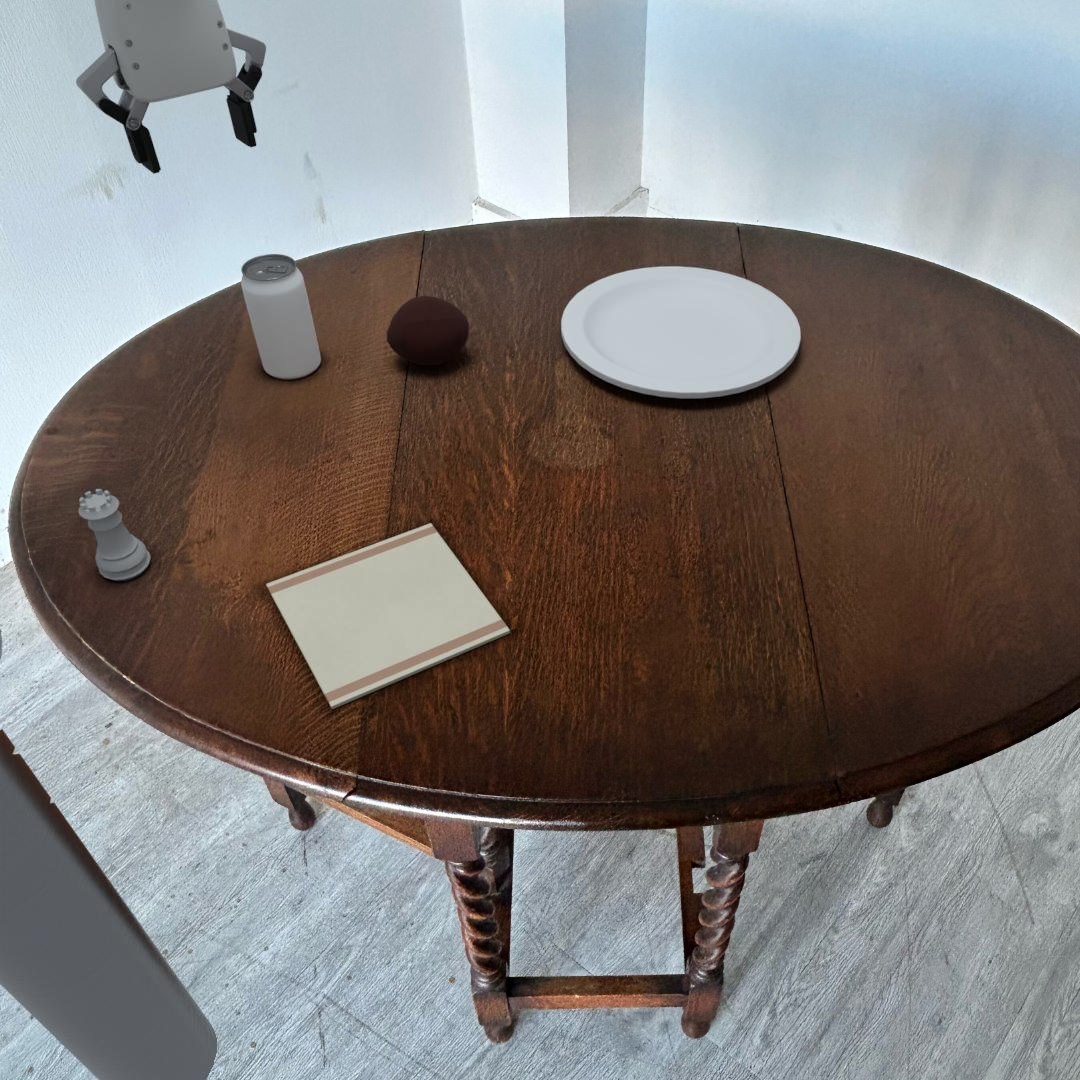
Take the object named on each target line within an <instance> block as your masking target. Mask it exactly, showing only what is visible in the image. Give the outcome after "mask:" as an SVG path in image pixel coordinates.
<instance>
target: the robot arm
mask: <svg viewBox="0 0 1080 1080" xmlns="http://www.w3.org/2000/svg"><path fill="white" fill-rule="evenodd" d="M93 2H94V6H95V11H96V16H97V20H98V25H99V31H100V35H101V39H102V43H103V47H104V50H105V51H104V52H103V53H102V54H101V55H100V56H99V57H98V58H97V59H95V61H93V62H92V63H91V65H89V66H88V67H87V68H86V69H85V70H84V71H83V72H82V73H81V74H80V75H79V76H77V78H76V80H75V84H76V86H77V87H78V89H79V90H80V91H81V92H82V93H83V94H84V95H85V96H86V97H87V98H88V99H89V100H90V101H91V102H92V103H93V104H94V106H95V107H96V108H97V109H98V110H99V111H101V112H102V113H104V115H107V116H108V117H110V118H111V119H113V120H114V121H116V122H118V123H119V124H121V125H123V128H124V129H123V130H124V131H125V134H126V138H127V141H128V145H129V147H130V151H131V153H132V156H133V159H134V160H135V162H136V163H138V164H141V165H142V166H143V167H144V168H146V169H147V170H148V171H149V172H151V173H152V174H159V173H160V171H161V170H162V168H161V165H160V161H159V158H158V155H157V152H156V149H155V146H154V142H153V139H152V136H151V132H150V130H149V128H148V127H146V126H145V125H144V124H143V121H144V118H145V115H146V113H147V110H148V108H149V105H150V103H151V104H152V103H158V102H163V101H168V100H173V99H176V98H181V97H185V96H189V95H190V96H191V95H193V94H198V93H201V92H207V91H210V90H214V89H217V88H222V87H224V88H225V89H226V90H227V91H228V93H229V94H227V95H226V98H225V100H226V104H227V108H228V112H229V117H230V120H231V125H232V128H233V133H234V136H235V138H236V139H237V140H238V141H239V142H241V143H243V144H244V145H246V146H247V147H249V148H254V147H255V148H256V147H257V139H256V136H255V134H256V133H257V132H258V129H257V124H256V120H255V115H254V111H253V106H252V103H251V102H253V101H254V98H255V93H254V92H255V90H256V89H257V87H258V85H259V83H260V80H262V77H263V70H262V68H263V67H264V62H265V56H266V53H267V46H266V44H265V43H264V42H262V41H261V40H259V39H257V38H254V37H251V36H249V35H246V34H243V33H241V32H238V31H235V30H232V29H230V28H227V26H226V22H225V19H224V15H223V13H222V10H221V7H220V4H219V1H218V0H94V1H93ZM234 48H235V49H238V50H241V51H244V53H245V58H244V59H245V62H244V63H243V64H242V66H241V68H240V70H239V72H238V73H237V71H238V70H237V64H236V58H235V54H234V50H233V49H234ZM111 78H113V80H114V82H115V85H116V86H117V87H118V88H119V89H121V90H122V92H121V94H120V98H119V100H118V102H117V103H116V102H114V101H113V100H111V99H110V98H109V97H108V96H107V94H106V93H105V91H104V90H103V86H104V84H106V83H107V82H108V81H109V79H111Z"/></svg>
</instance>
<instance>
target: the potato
mask: <svg viewBox="0 0 1080 1080" xmlns="http://www.w3.org/2000/svg"><path fill="white" fill-rule="evenodd" d="M469 326H470V323H469V321H468V318H467V316H466V315H465V314H464V313H463V312H462V311H461V310H460V309H459V308H458V307H457V306H455V305H454V304H453V303H451V302H449V301H447V300H445V299H443V298H440V297H436V296H430V295H421V296H417V297H412V298H410V299H409V300H407V301H406V302H404V303H403V304H401V306H400V307H399V308H398V309H397V311H396V312H395V313H394V314H393V316H392V317H391V320H390V323H389V326H388V327H387V331H386V341H387V343H388V346H389V347H390V349H392V350H393V352H394V353H395V354H397V355H398V356H399V357H400V358H402V359H404V360H406V361H408V362H410V363H412V364H416V365H419V366H423V367H424V366H438V365H440V364H443V363H446V362H448V361H450V360H452V359H453V358H455V357H456V356H457V355H458V354H459V353H460V352H461V351H462V350H463V349H464V347H465V345H466V343H467V342H468V339H469V334H470V333H469V331H470V330H469V329H470V327H469Z"/></svg>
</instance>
